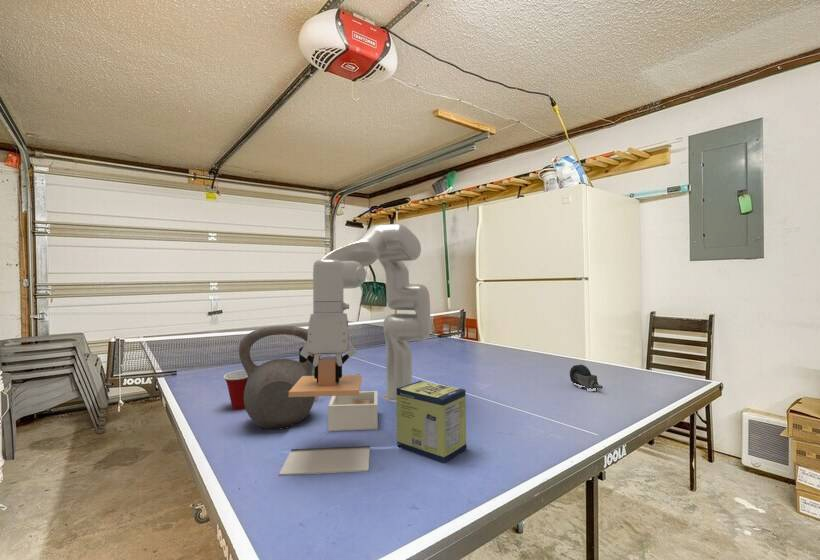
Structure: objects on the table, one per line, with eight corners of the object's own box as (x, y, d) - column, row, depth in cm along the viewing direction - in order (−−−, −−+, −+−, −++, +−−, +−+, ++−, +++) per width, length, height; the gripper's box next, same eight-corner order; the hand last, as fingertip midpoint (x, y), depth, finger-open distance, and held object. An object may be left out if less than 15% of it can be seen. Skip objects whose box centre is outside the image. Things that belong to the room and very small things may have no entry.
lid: (361, 379, 106) (361, 352, 106) (358, 395, 90) (358, 364, 90) (302, 380, 105) (302, 353, 105) (288, 397, 89) (288, 365, 89)
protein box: (420, 434, 110) (419, 379, 110) (467, 449, 100) (466, 389, 100) (395, 446, 102) (395, 387, 102) (444, 464, 92) (444, 398, 92)
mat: (370, 436, 108) (370, 435, 108) (368, 471, 89) (368, 469, 89) (297, 439, 107) (297, 438, 107) (279, 475, 87) (279, 473, 87)
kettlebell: (233, 437, 109) (233, 330, 109) (244, 416, 126) (243, 324, 126) (320, 429, 115) (320, 327, 115) (319, 410, 132) (319, 322, 132)
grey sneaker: (567, 388, 160) (596, 394, 146) (565, 364, 161) (594, 368, 147) (578, 386, 162) (608, 392, 148) (576, 363, 163) (605, 366, 149)
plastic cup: (216, 409, 133) (216, 374, 133) (243, 400, 143) (242, 368, 143) (237, 414, 128) (237, 377, 128) (263, 404, 138) (263, 371, 138)
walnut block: (369, 415, 123) (369, 399, 123) (369, 422, 117) (369, 405, 117) (350, 416, 122) (350, 400, 122) (349, 423, 116) (349, 406, 116)
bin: (377, 415, 126) (377, 390, 126) (377, 432, 112) (377, 404, 112) (334, 417, 124) (333, 392, 125) (328, 434, 111) (328, 406, 111)
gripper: (362, 307, 102) (362, 377, 102) (297, 308, 101) (297, 378, 101) (361, 309, 95) (361, 384, 94) (291, 309, 93) (291, 385, 93)
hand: (328, 380), depth 97 cm, fingers closed on lid, 4 cm apart
